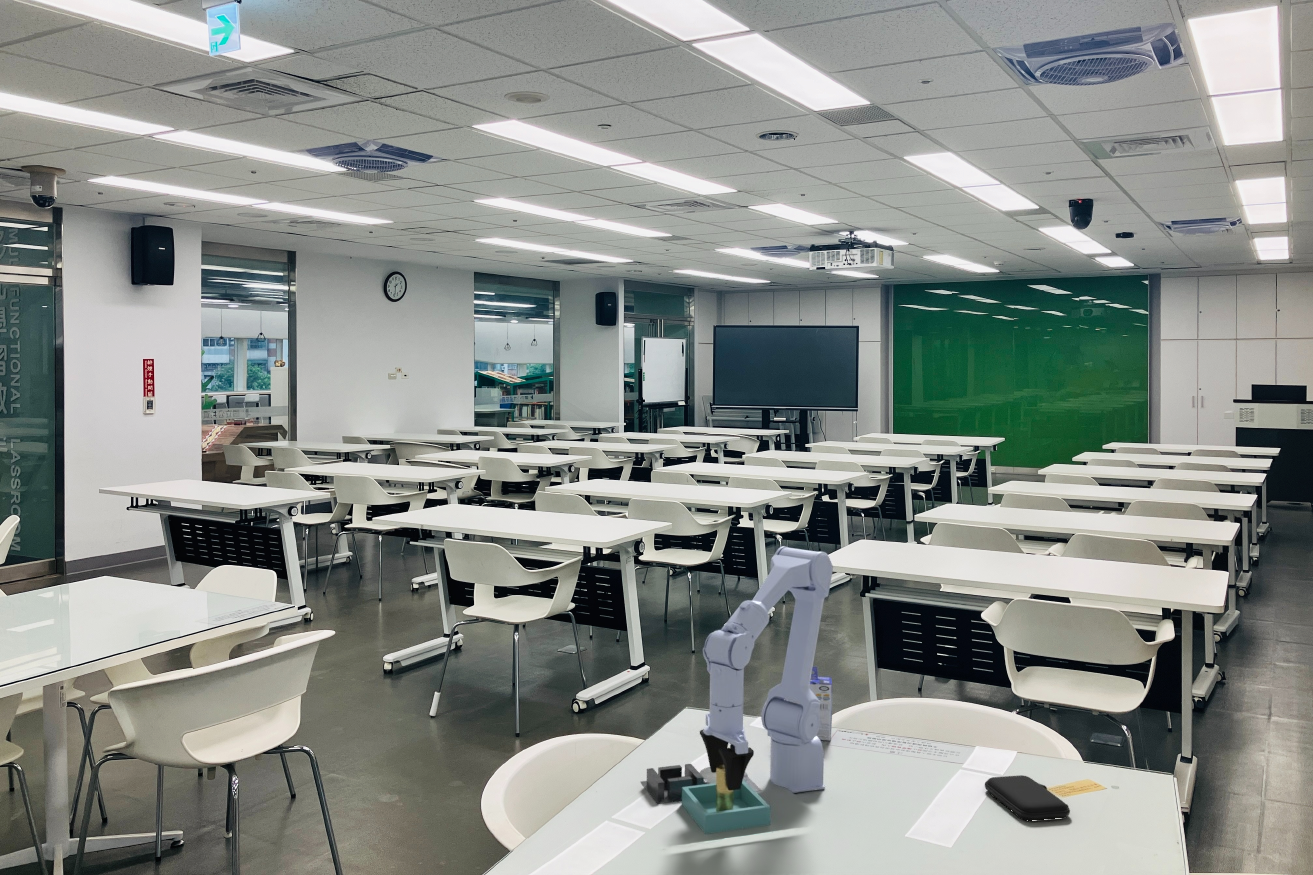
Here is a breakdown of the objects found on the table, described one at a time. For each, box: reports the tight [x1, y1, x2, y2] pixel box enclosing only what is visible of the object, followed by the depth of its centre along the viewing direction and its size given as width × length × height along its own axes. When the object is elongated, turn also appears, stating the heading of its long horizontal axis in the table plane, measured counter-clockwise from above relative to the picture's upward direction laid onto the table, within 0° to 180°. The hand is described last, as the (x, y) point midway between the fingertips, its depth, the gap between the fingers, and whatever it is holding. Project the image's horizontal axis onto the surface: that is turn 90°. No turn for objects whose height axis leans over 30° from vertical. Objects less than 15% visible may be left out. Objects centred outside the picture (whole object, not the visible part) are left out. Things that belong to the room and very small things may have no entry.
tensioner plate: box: [640, 763, 763, 805], centre depth 176 cm, size 20×10×4 cm, turn 108°
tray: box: [681, 780, 771, 835], centre depth 164 cm, size 12×12×4 cm
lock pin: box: [716, 765, 734, 812], centre depth 164 cm, size 3×3×8 cm
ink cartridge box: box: [784, 666, 833, 741], centre depth 204 cm, size 10×6×14 cm, turn 82°
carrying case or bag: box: [984, 775, 1071, 822], centre depth 172 cm, size 11×3×15 cm
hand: (725, 779), depth 164 cm, fingers open, 7 cm apart
